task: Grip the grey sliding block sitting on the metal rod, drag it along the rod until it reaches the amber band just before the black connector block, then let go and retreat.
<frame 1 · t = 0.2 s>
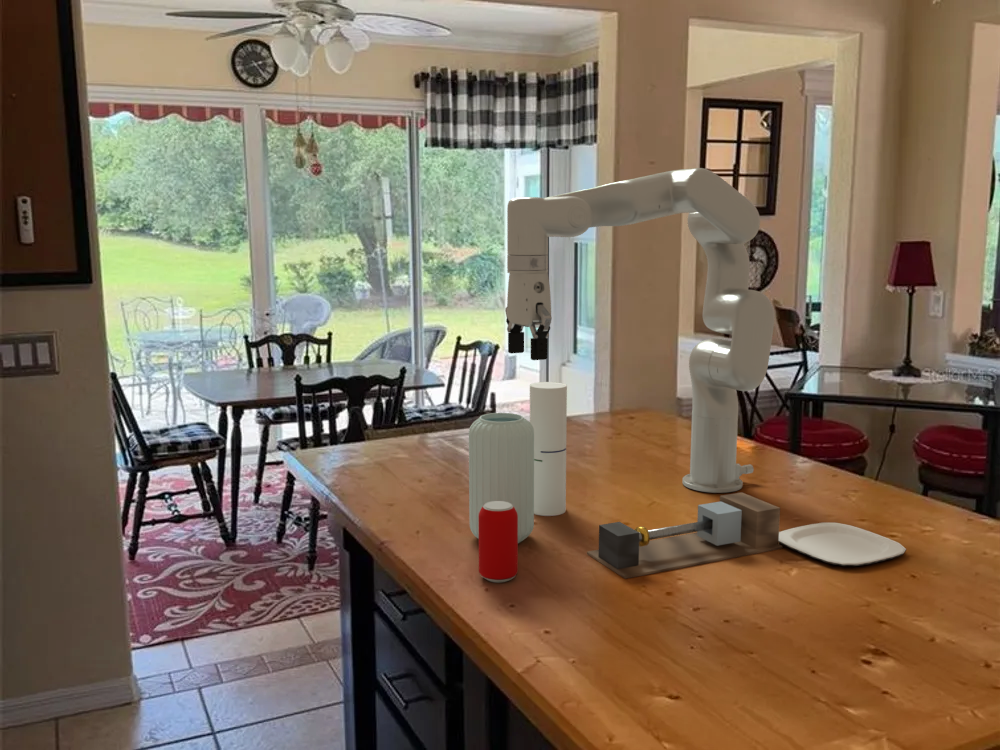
hand: (527, 356, 169), 31 cm above the kitchen island, fingers open, 9 cm apart
metal rod: (678, 530, 152), point 4 cm above the kitchen island
plate: (838, 551, 155), on the kitchen island
grey sliding block: (719, 523, 156), point 4 cm above the kitchen island, slide at 0.0 cm
cylindrical container: (547, 511, 176), on the kitchen island
beverage can: (498, 578, 142), on the kitchen island
slide base: (685, 551, 154), on the kitchen island
vase: (501, 539, 160), on the kitchen island
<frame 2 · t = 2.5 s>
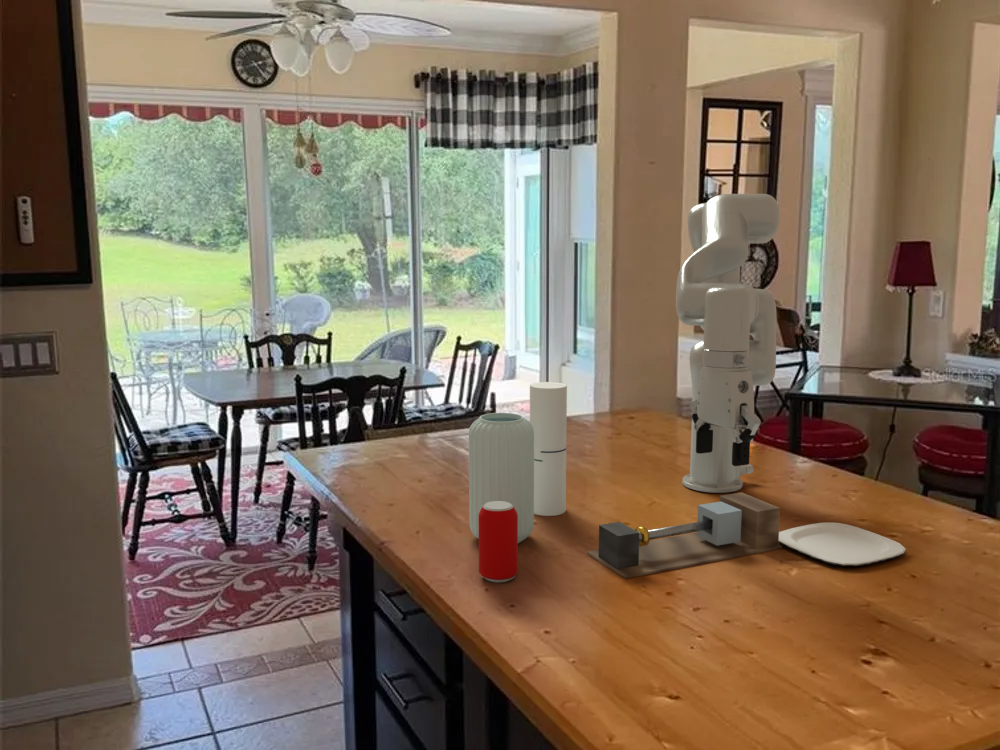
hand: (721, 458, 154), 16 cm above the kitchen island, fingers open, 9 cm apart
nothing on the kitchen island moved.
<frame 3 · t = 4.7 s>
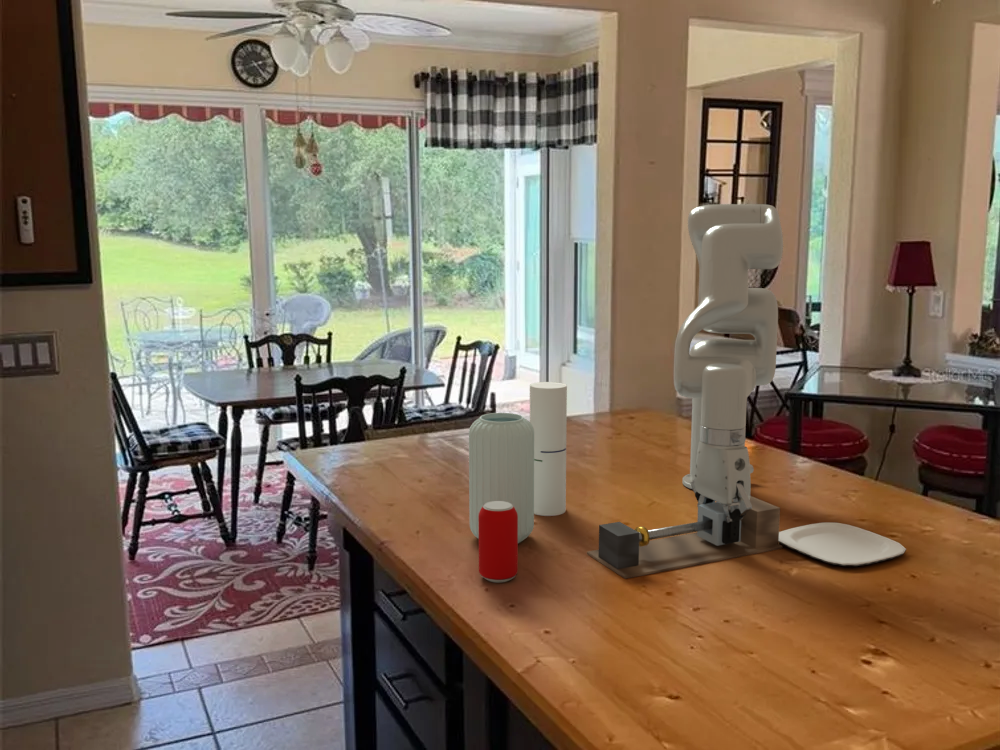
hand: (718, 535, 156), 2 cm above the kitchen island, fingers closed on grey sliding block, 5 cm apart
grey sliding block: (719, 523, 156), point 4 cm above the kitchen island, slide at 0.0 cm, touching gripper
everything else where it was.
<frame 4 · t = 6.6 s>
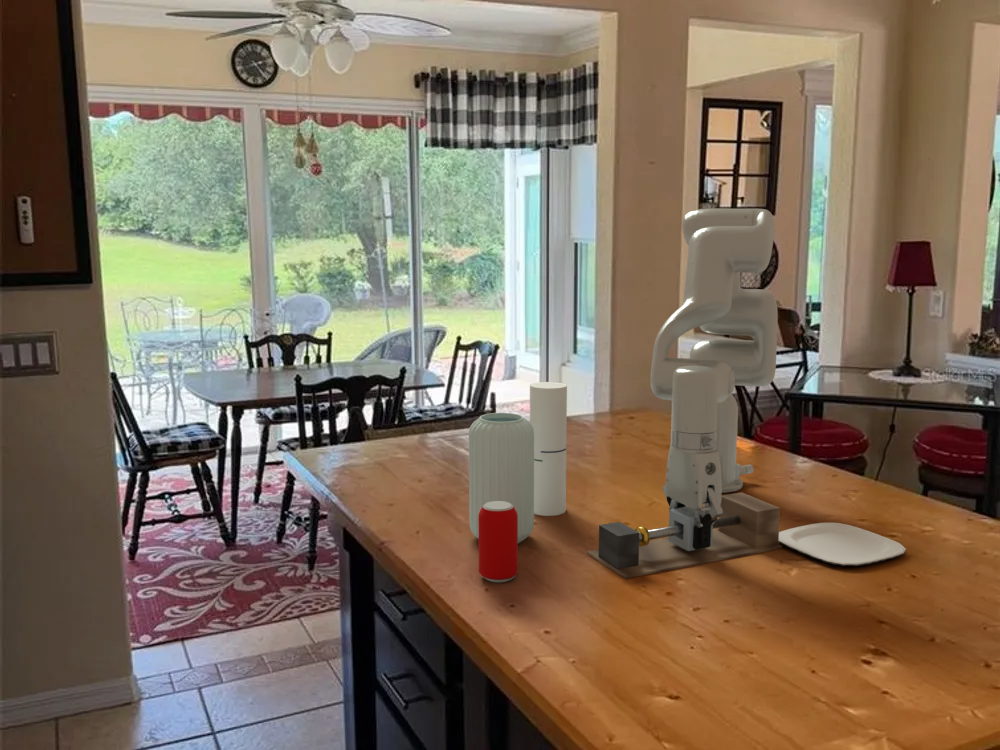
hand: (690, 540, 154), 2 cm above the kitchen island, fingers closed on grey sliding block, 5 cm apart
grey sliding block: (690, 528, 153), point 4 cm above the kitchen island, slide at 6.1 cm, touching gripper
everything else where it was.
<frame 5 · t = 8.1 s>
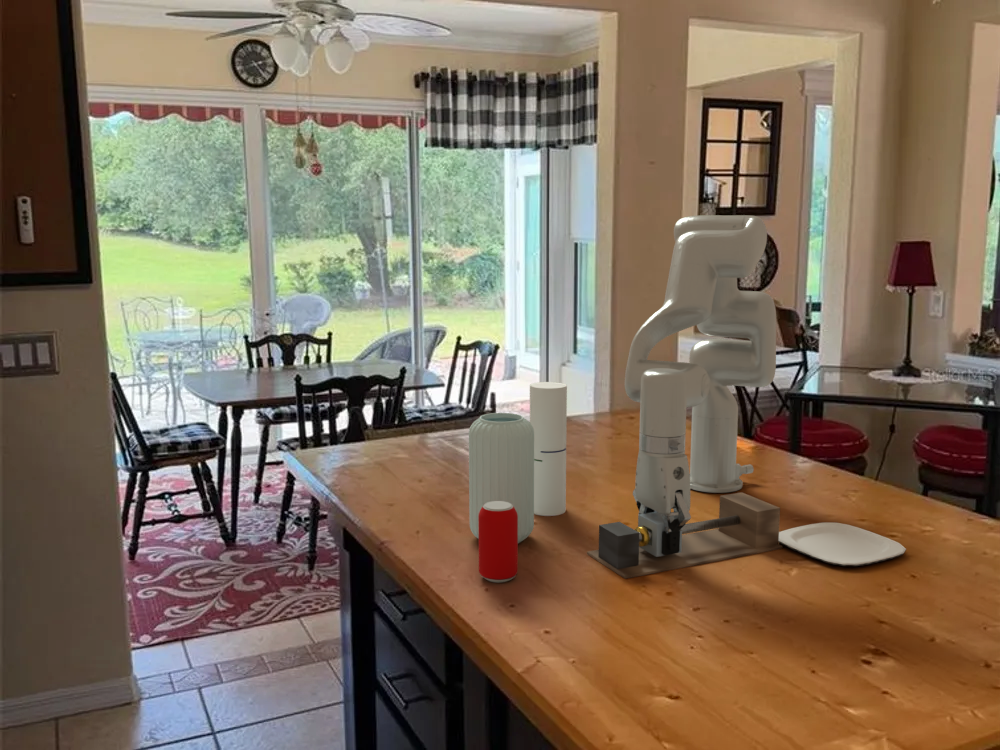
hand: (659, 546, 151), 2 cm above the kitchen island, fingers closed on grey sliding block, 5 cm apart
grey sliding block: (659, 533, 151), point 4 cm above the kitchen island, slide at 12.4 cm, touching gripper
everything else where it was.
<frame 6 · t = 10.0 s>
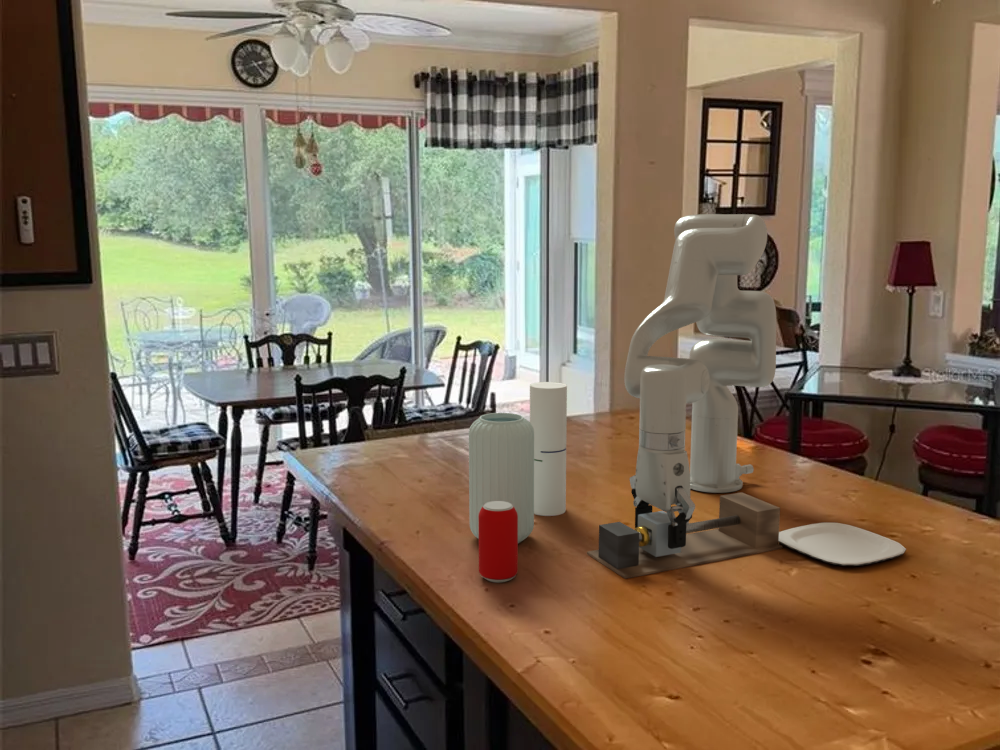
hand: (659, 537, 151), 3 cm above the kitchen island, fingers open, 9 cm apart
grey sliding block: (659, 533, 151), point 4 cm above the kitchen island, slide at 12.5 cm
everything else where it was.
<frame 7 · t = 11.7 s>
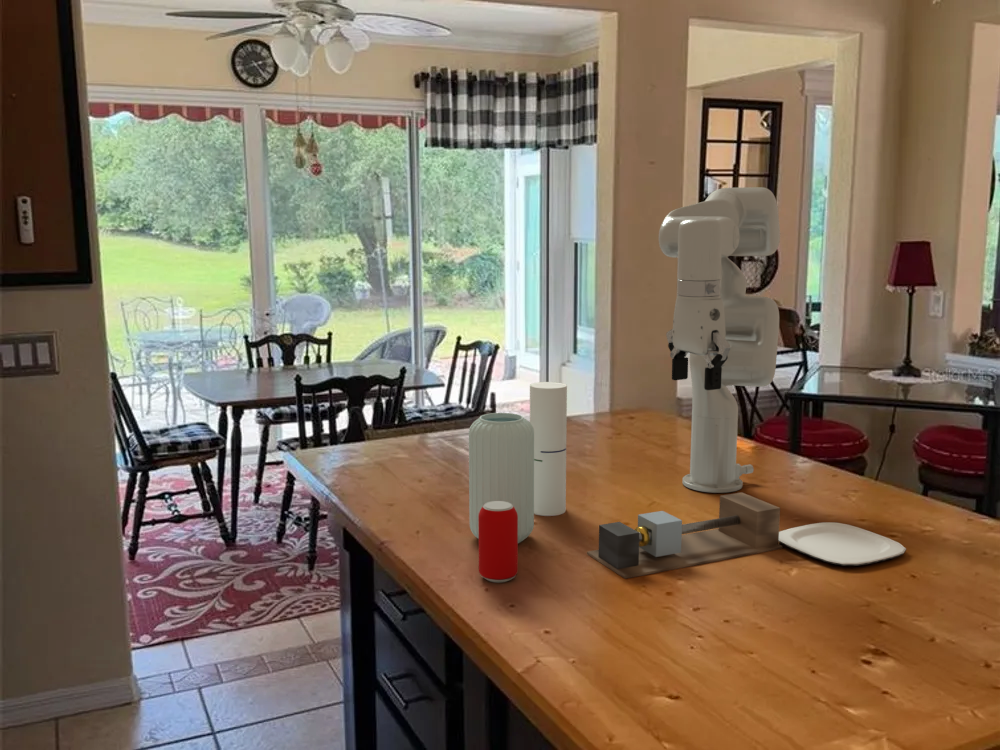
hand: (695, 384, 161), 27 cm above the kitchen island, fingers open, 9 cm apart
nothing on the kitchen island moved.
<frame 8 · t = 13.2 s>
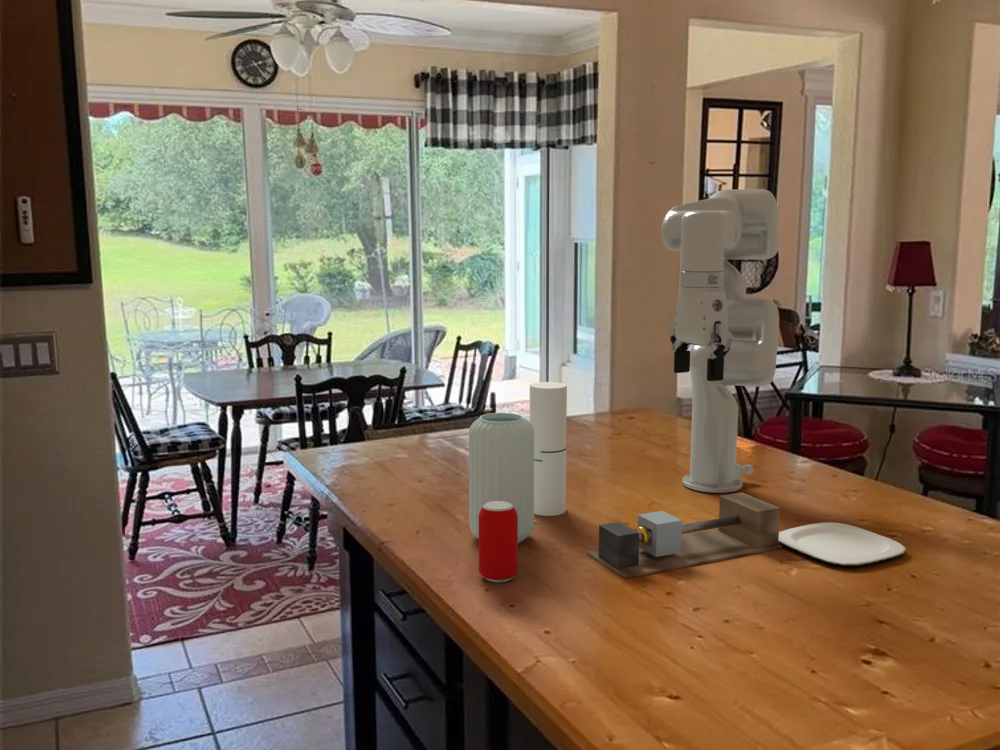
hand: (697, 376, 162), 28 cm above the kitchen island, fingers open, 9 cm apart
nothing on the kitchen island moved.
at the end: grey sliding block slide at 12.5 cm; the gripper is holding nothing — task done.
